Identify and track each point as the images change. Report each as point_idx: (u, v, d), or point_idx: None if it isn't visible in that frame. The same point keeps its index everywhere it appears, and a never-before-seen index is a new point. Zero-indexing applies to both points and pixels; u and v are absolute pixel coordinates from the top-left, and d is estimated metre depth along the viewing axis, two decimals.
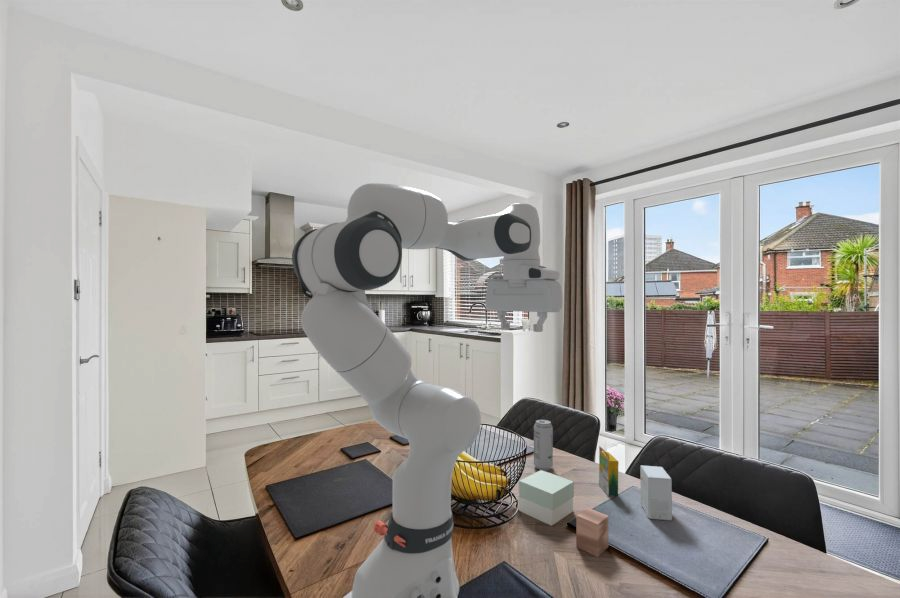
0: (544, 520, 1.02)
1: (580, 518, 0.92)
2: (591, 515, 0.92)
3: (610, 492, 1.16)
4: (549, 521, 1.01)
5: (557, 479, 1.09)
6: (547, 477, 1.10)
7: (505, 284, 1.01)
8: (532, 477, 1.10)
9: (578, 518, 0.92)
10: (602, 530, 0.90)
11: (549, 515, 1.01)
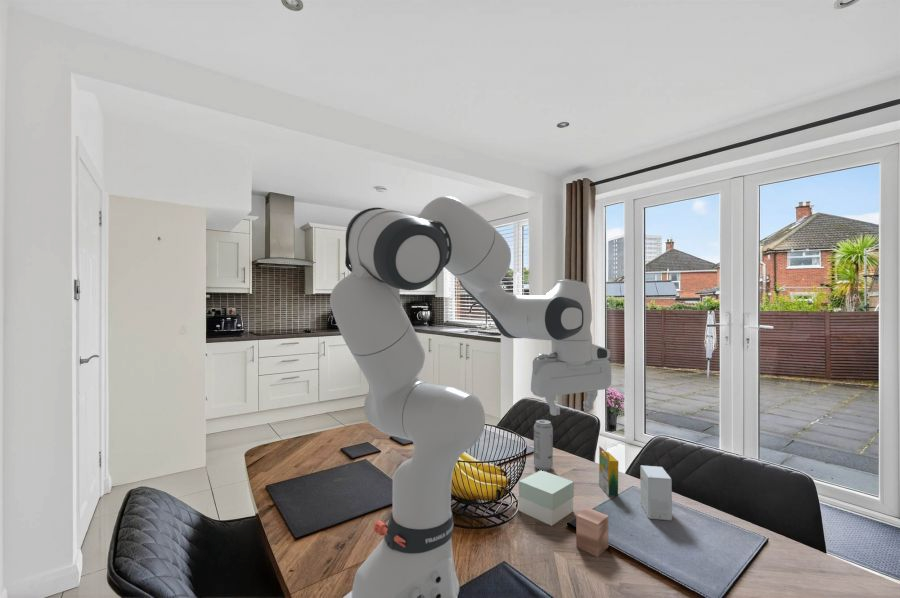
0: (544, 520, 1.02)
1: (580, 518, 0.92)
2: (591, 515, 0.92)
3: (610, 492, 1.16)
4: (549, 521, 1.01)
5: (557, 479, 1.09)
6: (547, 477, 1.10)
7: (564, 365, 0.91)
8: (532, 477, 1.10)
9: (578, 518, 0.92)
10: (602, 530, 0.90)
11: (549, 515, 1.01)
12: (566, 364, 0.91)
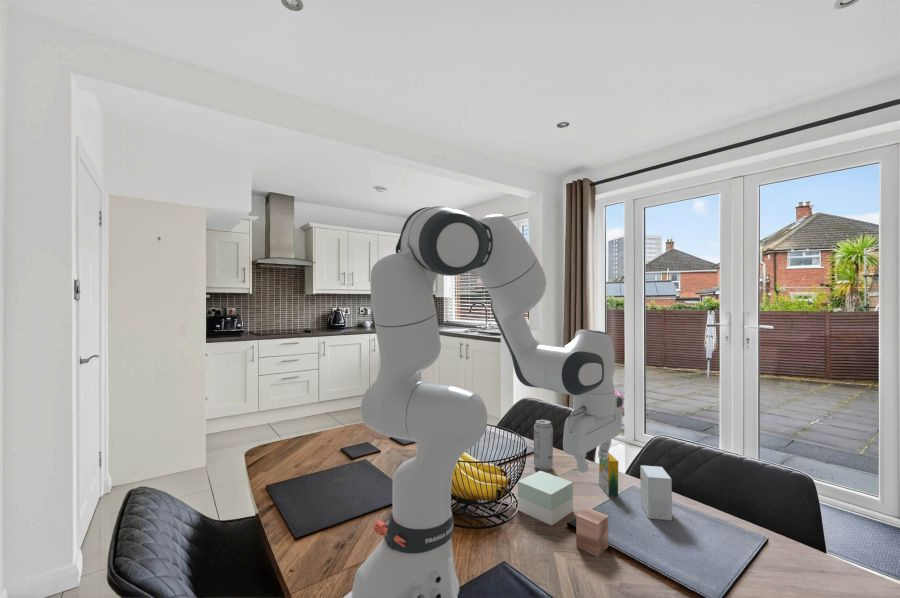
0: (544, 520, 1.02)
1: (579, 518, 0.92)
2: (591, 515, 0.92)
3: (610, 492, 1.16)
4: (549, 521, 1.01)
5: (556, 480, 1.09)
6: (546, 478, 1.10)
7: (593, 419, 0.89)
8: (531, 477, 1.10)
9: (578, 518, 0.92)
10: (602, 530, 0.90)
11: (549, 515, 1.01)
12: (594, 418, 0.89)
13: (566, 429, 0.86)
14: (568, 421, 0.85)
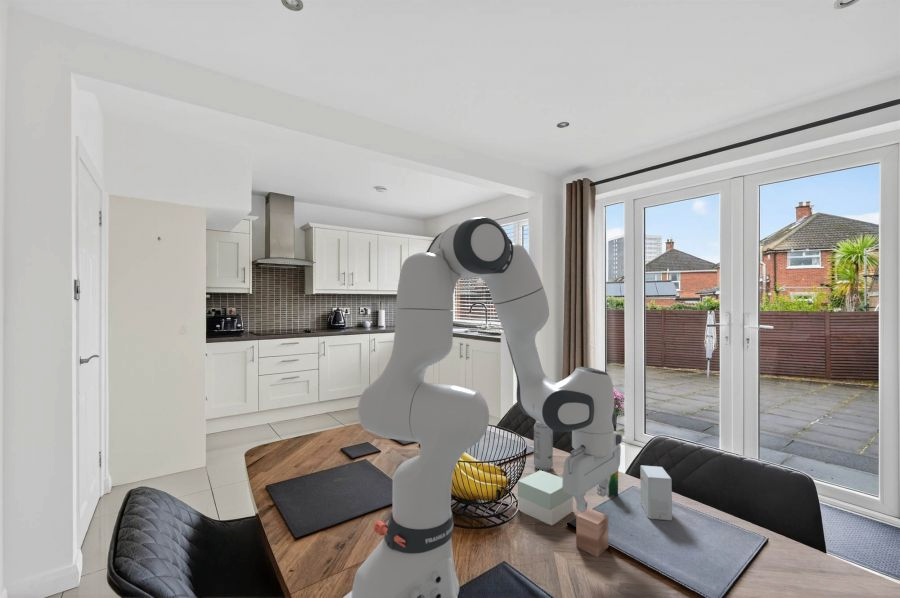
0: (544, 520, 1.02)
1: (580, 518, 0.92)
2: (591, 515, 0.92)
3: (610, 492, 1.16)
4: (549, 521, 1.01)
5: (556, 479, 1.09)
6: (545, 477, 1.10)
7: (592, 459, 0.89)
8: (531, 477, 1.11)
9: (578, 518, 0.92)
10: (602, 530, 0.90)
11: (549, 515, 1.01)
12: (594, 457, 0.89)
13: (566, 469, 0.86)
14: (568, 462, 0.85)
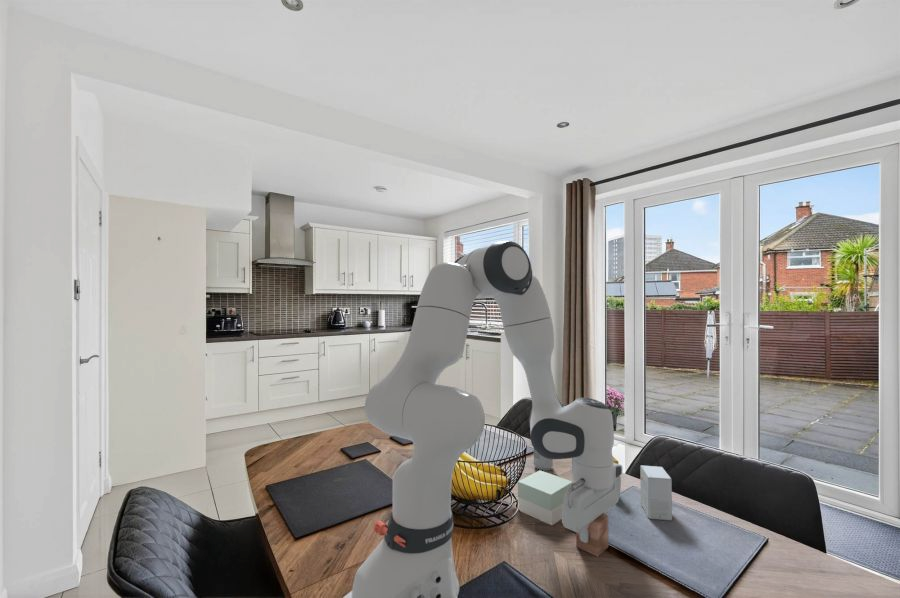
0: (544, 520, 1.02)
1: None
2: None
3: None
4: (549, 521, 1.01)
5: (556, 479, 1.09)
6: (545, 477, 1.10)
7: (592, 492, 0.89)
8: (531, 477, 1.10)
9: None
10: (602, 530, 0.90)
11: (549, 515, 1.01)
12: (593, 490, 0.89)
13: (565, 503, 0.86)
14: (567, 496, 0.85)
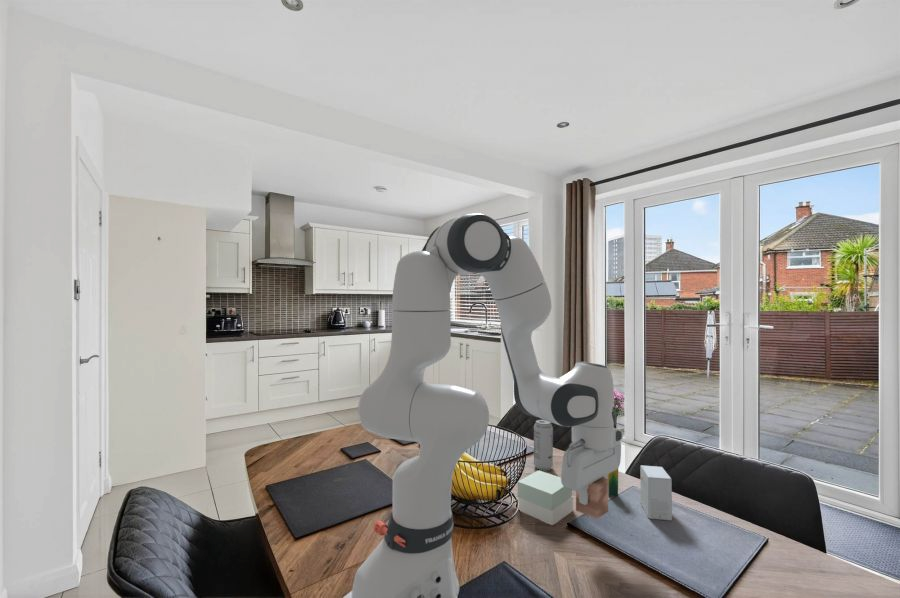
0: (545, 520, 1.02)
1: None
2: None
3: (610, 492, 1.16)
4: (550, 520, 1.01)
5: (555, 479, 1.09)
6: (545, 477, 1.10)
7: (592, 453, 0.88)
8: (530, 477, 1.10)
9: None
10: (602, 493, 0.90)
11: (549, 515, 1.02)
12: (593, 451, 0.89)
13: (564, 462, 0.86)
14: (566, 454, 0.85)
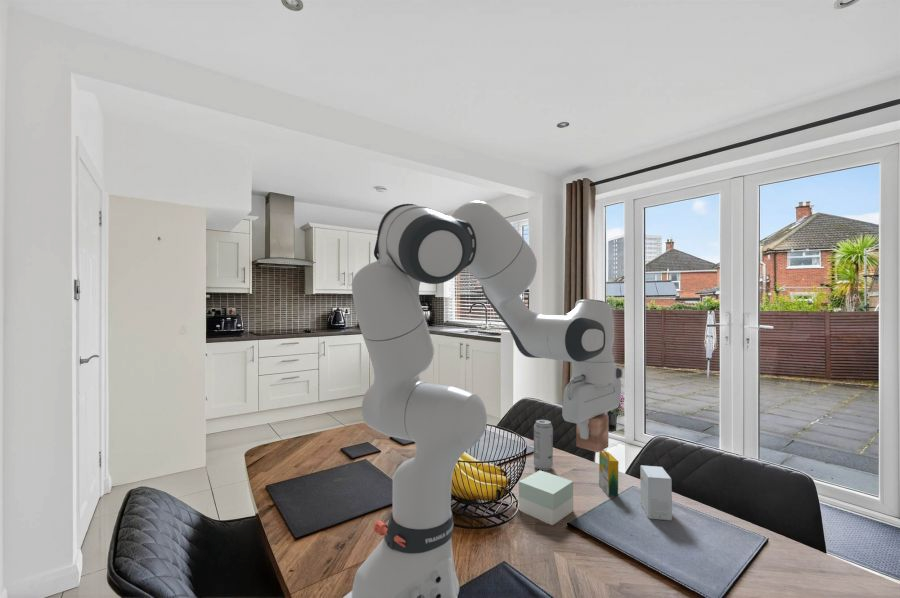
0: (545, 520, 1.03)
1: None
2: None
3: (610, 492, 1.16)
4: (550, 520, 1.01)
5: (556, 479, 1.09)
6: (546, 477, 1.10)
7: (592, 388, 0.89)
8: (532, 477, 1.10)
9: None
10: (602, 428, 0.90)
11: (549, 515, 1.02)
12: (594, 386, 0.89)
13: (565, 396, 0.86)
14: (568, 388, 0.85)
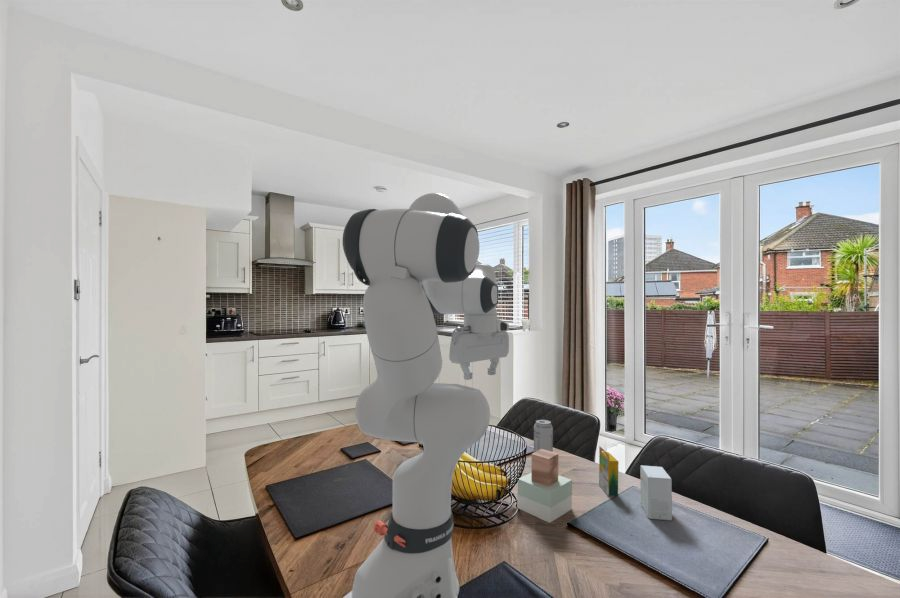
0: (542, 518, 1.04)
1: (534, 455, 1.08)
2: (544, 453, 1.08)
3: (610, 492, 1.16)
4: (547, 518, 1.03)
5: None
6: None
7: (476, 336, 1.07)
8: (531, 475, 1.12)
9: (533, 456, 1.08)
10: (553, 465, 1.07)
11: (547, 512, 1.03)
12: (478, 335, 1.08)
13: (451, 342, 1.05)
14: (452, 335, 1.04)
